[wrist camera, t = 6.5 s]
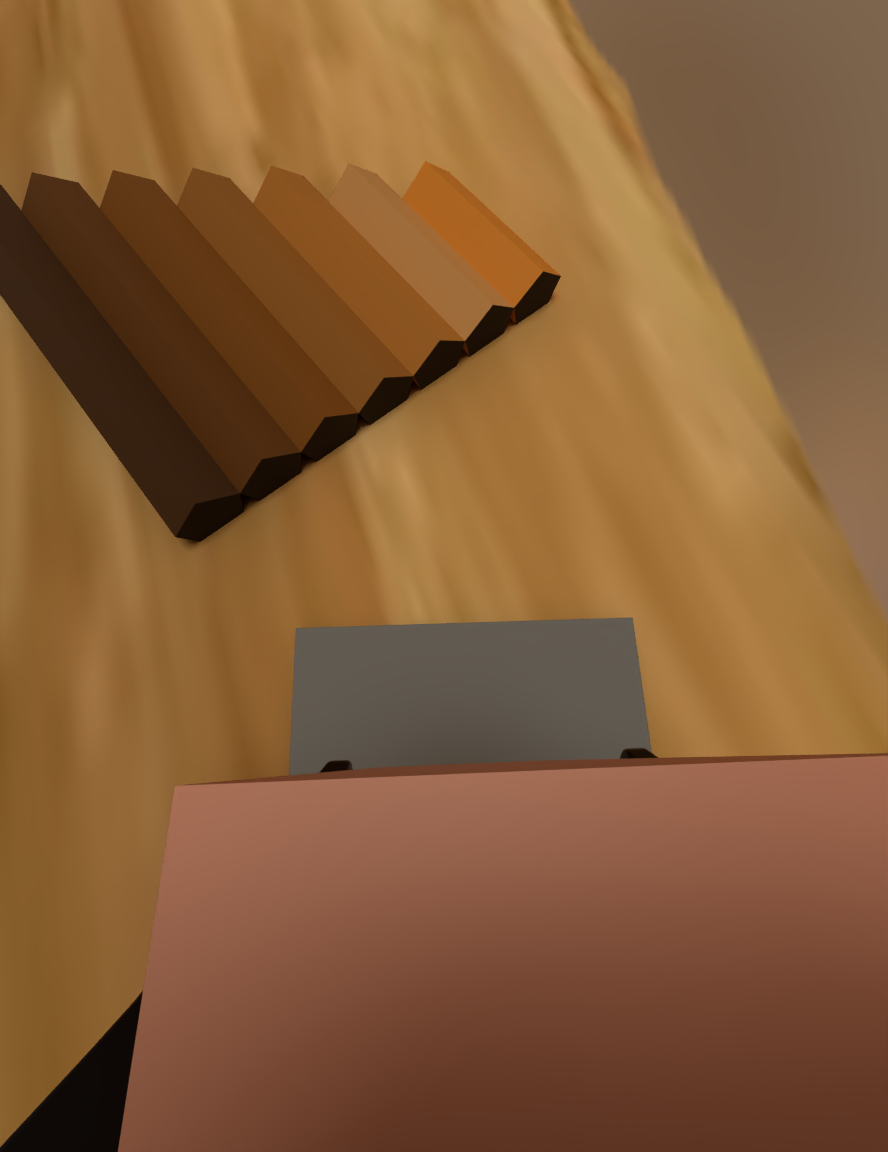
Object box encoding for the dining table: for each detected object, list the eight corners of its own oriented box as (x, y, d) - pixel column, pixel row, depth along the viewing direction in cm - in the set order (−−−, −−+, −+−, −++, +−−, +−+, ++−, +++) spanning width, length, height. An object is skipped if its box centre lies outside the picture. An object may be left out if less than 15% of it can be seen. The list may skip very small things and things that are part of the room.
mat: (698, 1137, 18) (707, 1151, 17) (275, 1166, 17) (270, 1182, 17) (627, 619, 23) (632, 617, 23) (299, 630, 23) (295, 628, 22)
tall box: (559, 873, 13) (1365, 1583, 2) (383, 881, 13) (29, 1724, 2) (547, 760, 15) (997, 750, 3) (384, 767, 14) (174, 785, 3)
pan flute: (-24, 247, 29) (196, 550, 24) (-83, 189, 26) (159, 527, 21) (312, 78, 33) (551, 306, 29) (299, 11, 30) (567, 255, 25)
